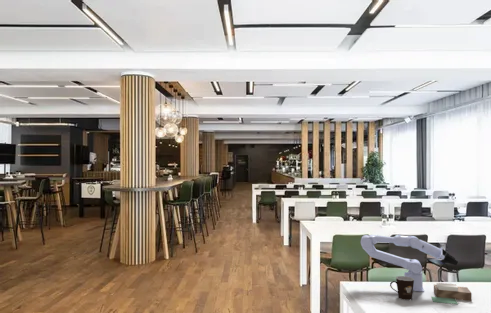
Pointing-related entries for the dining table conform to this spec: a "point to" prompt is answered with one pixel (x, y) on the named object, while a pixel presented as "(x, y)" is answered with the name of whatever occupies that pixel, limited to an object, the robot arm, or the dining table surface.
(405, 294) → the coffee mug
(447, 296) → the brown flat block
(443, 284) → the upright cream block
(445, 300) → the mat
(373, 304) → the dining table surface
